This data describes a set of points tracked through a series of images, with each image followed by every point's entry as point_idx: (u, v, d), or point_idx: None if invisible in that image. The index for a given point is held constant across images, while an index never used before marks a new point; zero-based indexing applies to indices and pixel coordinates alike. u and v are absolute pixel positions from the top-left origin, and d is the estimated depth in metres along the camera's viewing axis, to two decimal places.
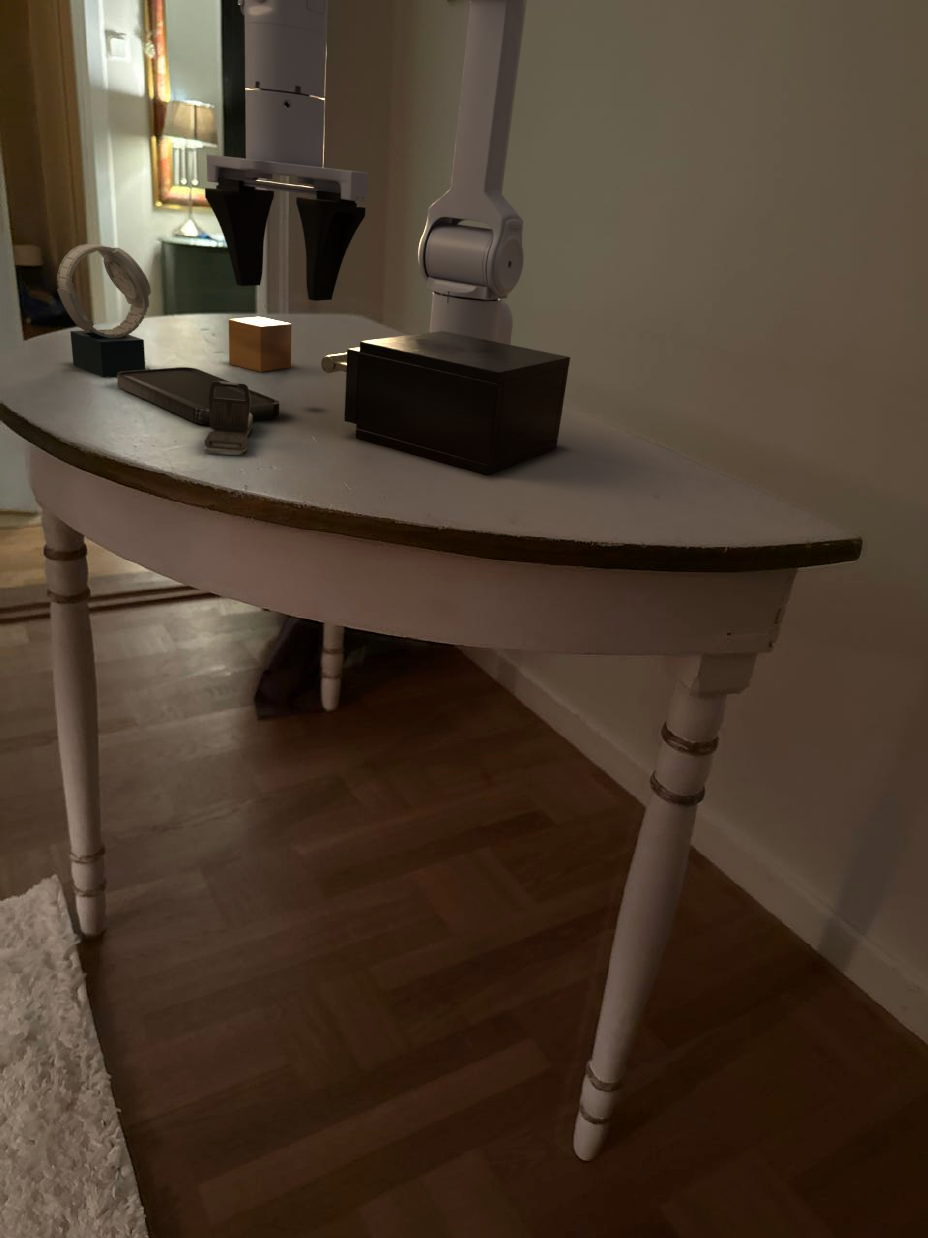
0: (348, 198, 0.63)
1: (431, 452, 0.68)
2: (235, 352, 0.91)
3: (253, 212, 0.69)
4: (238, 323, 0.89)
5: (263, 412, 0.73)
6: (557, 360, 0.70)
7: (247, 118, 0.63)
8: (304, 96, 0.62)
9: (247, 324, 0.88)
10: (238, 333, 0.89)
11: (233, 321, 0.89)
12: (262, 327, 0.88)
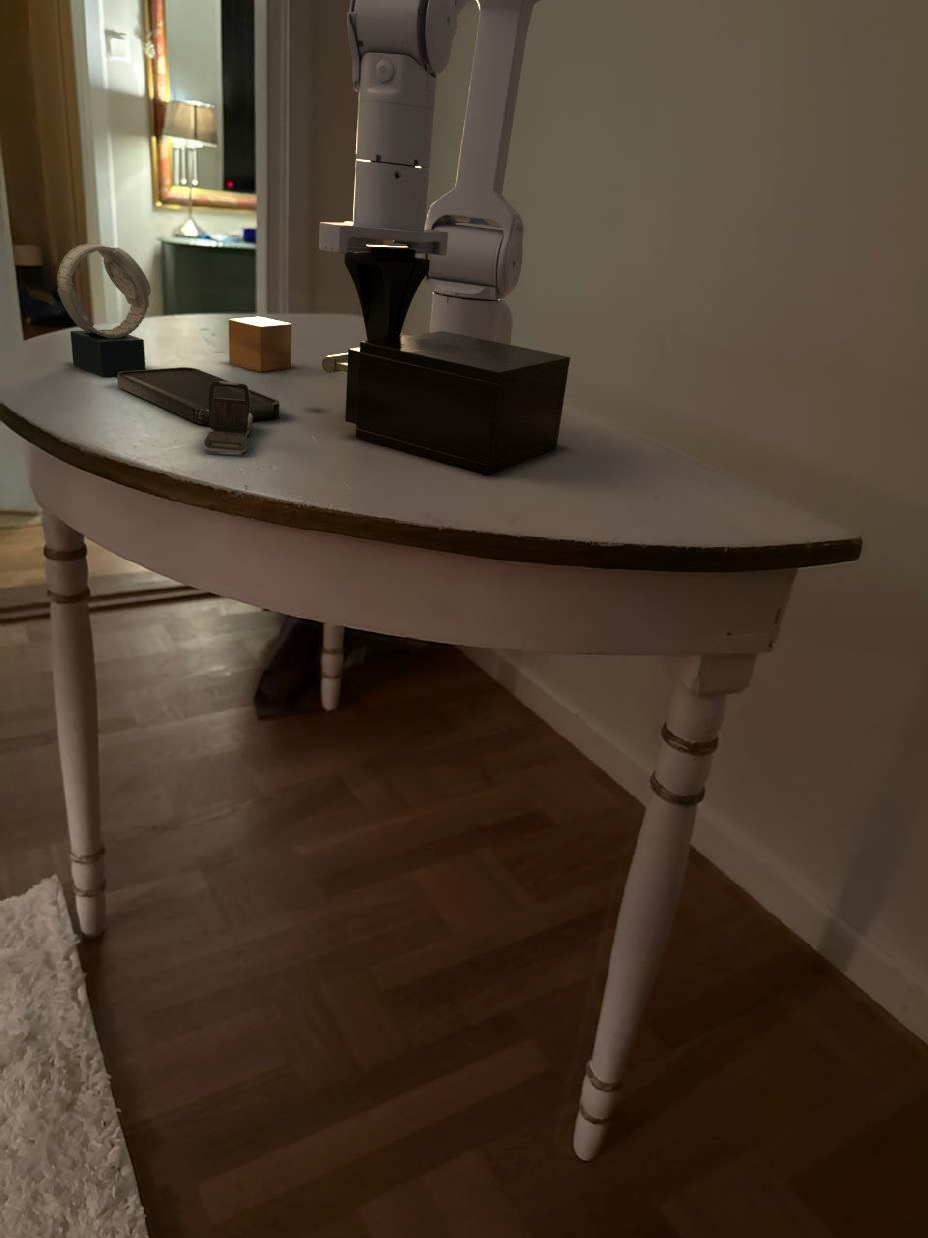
0: None
1: (431, 452, 0.68)
2: (235, 352, 0.91)
3: None
4: (238, 323, 0.89)
5: (263, 412, 0.73)
6: (557, 360, 0.70)
7: None
8: (361, 161, 0.66)
9: (247, 324, 0.88)
10: (238, 333, 0.89)
11: (233, 321, 0.89)
12: (262, 327, 0.88)
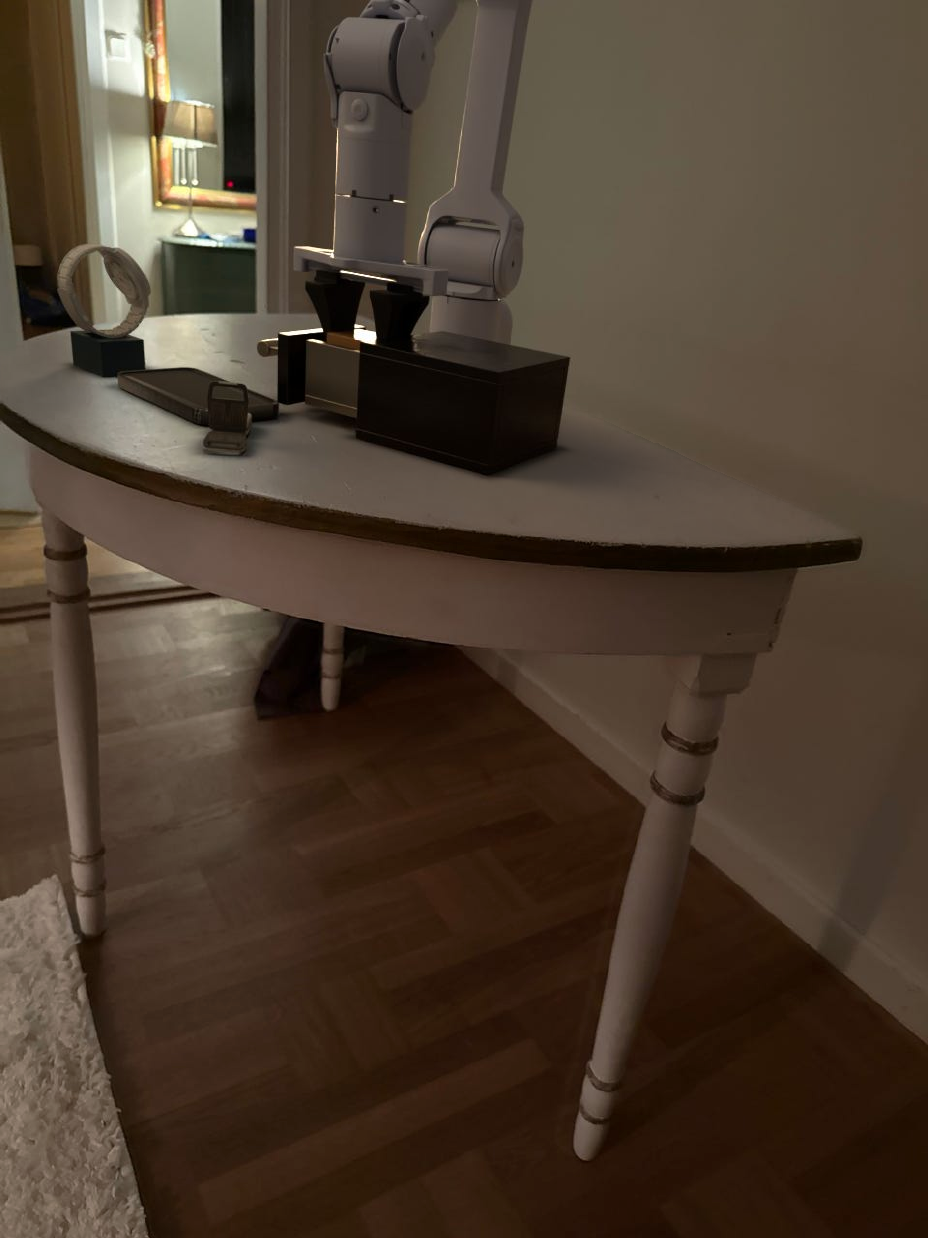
0: (430, 294, 0.69)
1: (431, 452, 0.68)
2: None
3: (347, 301, 0.75)
4: (340, 338, 0.73)
5: (262, 412, 0.73)
6: (557, 360, 0.70)
7: (337, 220, 0.69)
8: (391, 202, 0.68)
9: (351, 339, 0.72)
10: None
11: (333, 335, 0.73)
12: None
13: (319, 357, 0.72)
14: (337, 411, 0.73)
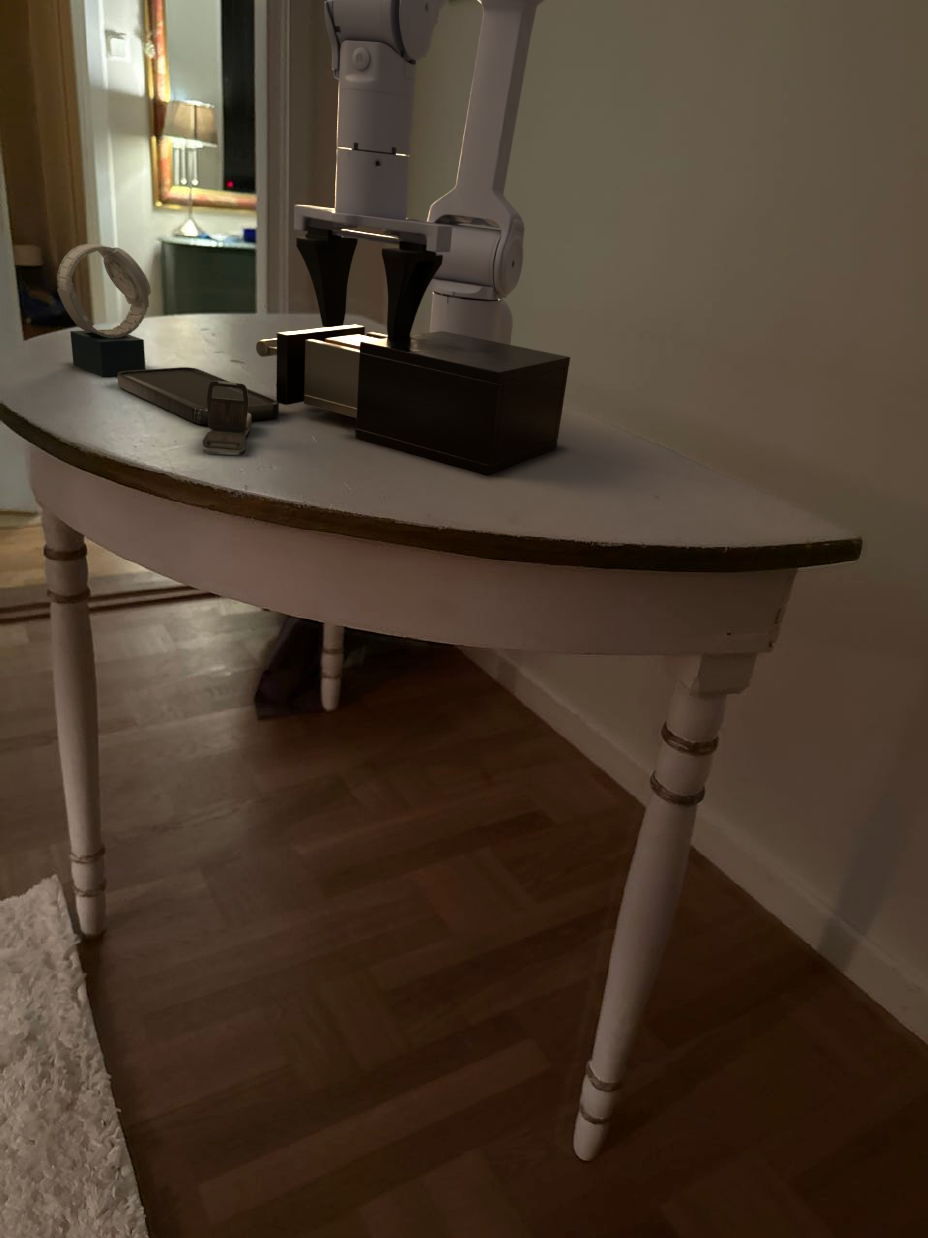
0: (434, 250, 0.67)
1: (431, 452, 0.68)
2: None
3: (339, 258, 0.74)
4: (338, 344, 0.73)
5: (262, 412, 0.73)
6: (557, 360, 0.70)
7: (338, 175, 0.68)
8: (393, 155, 0.66)
9: (349, 345, 0.73)
10: None
11: (331, 341, 0.74)
12: None
13: (318, 357, 0.72)
14: (336, 411, 0.73)
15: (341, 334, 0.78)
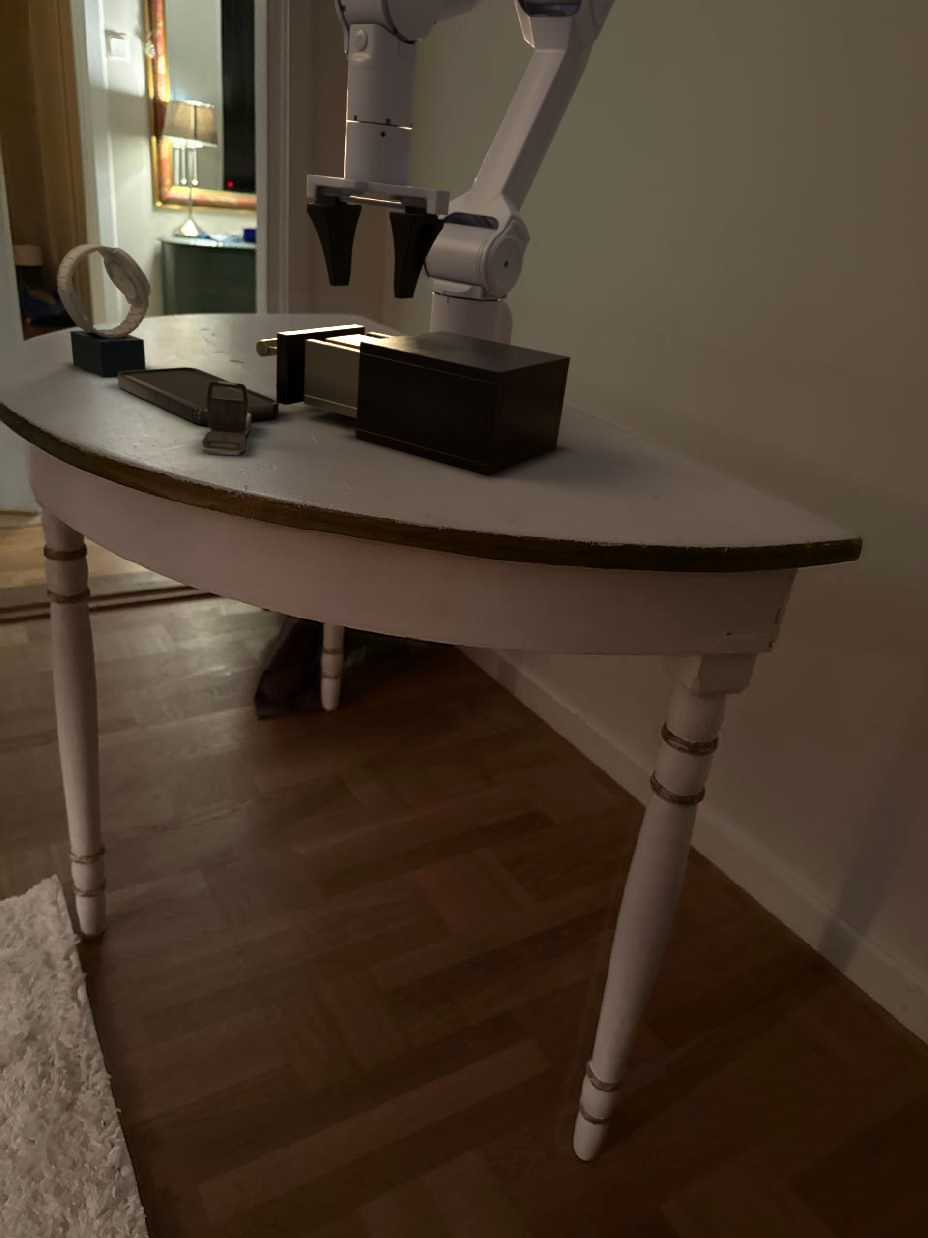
0: (433, 212, 0.75)
1: (431, 452, 0.68)
2: None
3: (345, 223, 0.82)
4: (338, 344, 0.73)
5: (262, 412, 0.73)
6: (557, 360, 0.70)
7: (348, 145, 0.75)
8: (397, 127, 0.74)
9: (349, 345, 0.73)
10: None
11: (331, 341, 0.74)
12: None
13: (318, 357, 0.72)
14: (336, 411, 0.73)
15: (341, 334, 0.78)
